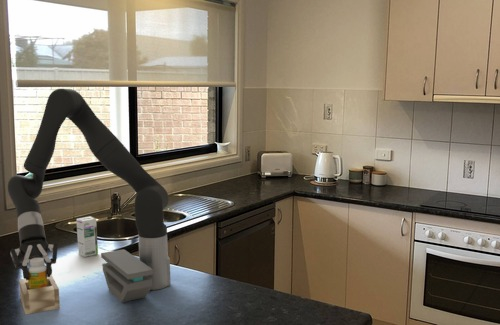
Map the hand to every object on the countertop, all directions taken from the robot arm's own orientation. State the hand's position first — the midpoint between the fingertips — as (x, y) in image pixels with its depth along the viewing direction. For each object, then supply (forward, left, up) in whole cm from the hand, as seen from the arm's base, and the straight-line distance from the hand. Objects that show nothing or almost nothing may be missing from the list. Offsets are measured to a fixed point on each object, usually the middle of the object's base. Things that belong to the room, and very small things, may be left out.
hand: (38, 277), depth 166 cm
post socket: (0, -2, -9) cm, 9 cm away
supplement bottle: (0, -2, -5) cm, 5 cm away
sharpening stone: (-26, +4, -9) cm, 27 cm away
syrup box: (-24, -45, -9) cm, 52 cm away
